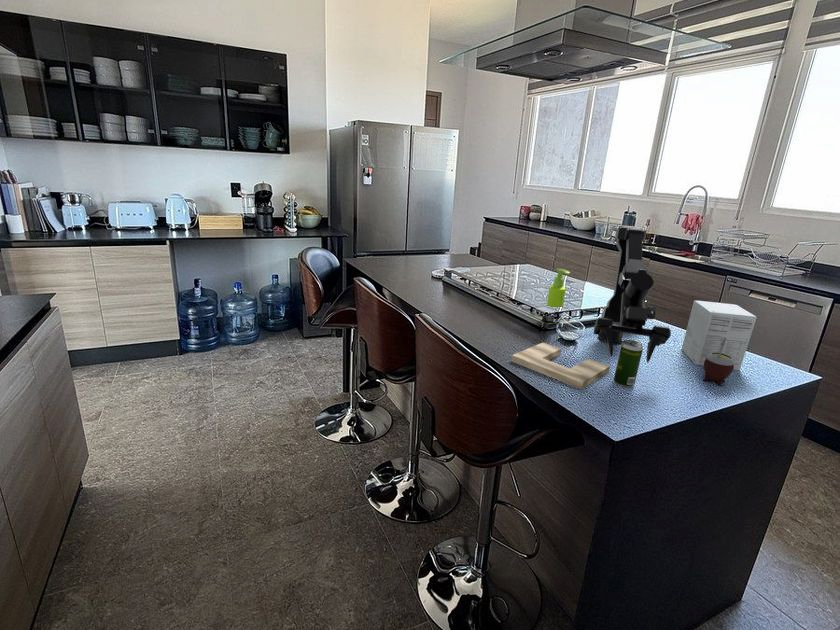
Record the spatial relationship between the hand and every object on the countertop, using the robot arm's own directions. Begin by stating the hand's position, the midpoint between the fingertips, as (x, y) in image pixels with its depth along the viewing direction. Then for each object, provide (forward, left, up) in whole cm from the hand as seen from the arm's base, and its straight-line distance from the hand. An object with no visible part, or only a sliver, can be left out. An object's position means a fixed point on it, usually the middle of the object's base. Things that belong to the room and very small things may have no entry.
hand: (629, 358), depth 123 cm
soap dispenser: (-12, -50, -8) cm, 52 cm away
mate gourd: (-28, +5, -8) cm, 30 cm away
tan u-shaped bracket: (+11, -14, -8) cm, 19 cm away
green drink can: (0, 0, -8) cm, 8 cm away
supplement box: (-42, -8, -8) cm, 44 cm away
